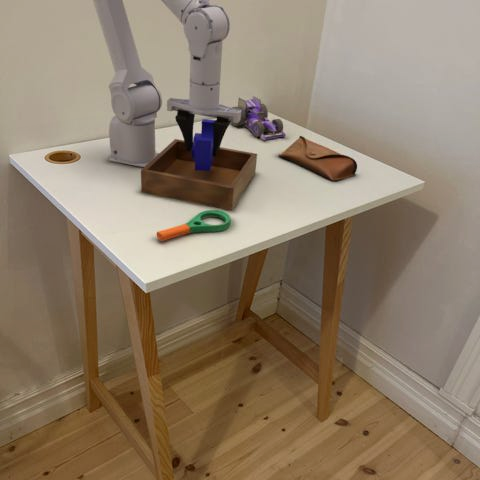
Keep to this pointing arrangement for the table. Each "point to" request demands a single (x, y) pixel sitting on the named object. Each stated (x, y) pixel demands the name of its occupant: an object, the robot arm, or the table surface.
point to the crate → (199, 176)
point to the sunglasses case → (320, 159)
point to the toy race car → (258, 119)
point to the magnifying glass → (196, 225)
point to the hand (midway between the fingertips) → (202, 151)
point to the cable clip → (203, 146)
